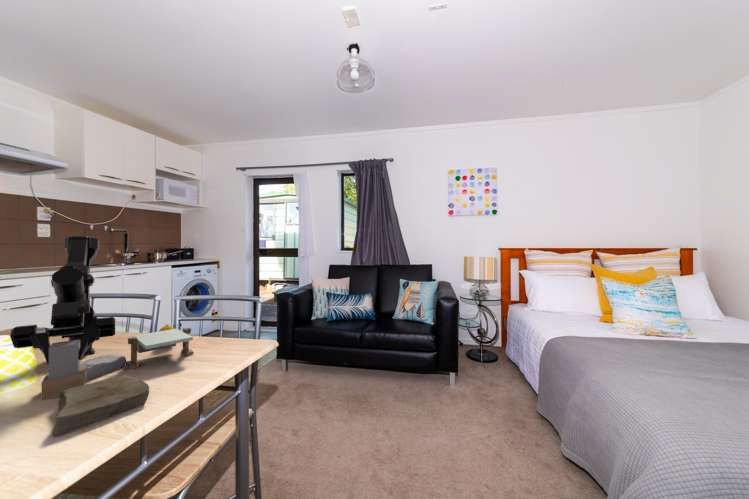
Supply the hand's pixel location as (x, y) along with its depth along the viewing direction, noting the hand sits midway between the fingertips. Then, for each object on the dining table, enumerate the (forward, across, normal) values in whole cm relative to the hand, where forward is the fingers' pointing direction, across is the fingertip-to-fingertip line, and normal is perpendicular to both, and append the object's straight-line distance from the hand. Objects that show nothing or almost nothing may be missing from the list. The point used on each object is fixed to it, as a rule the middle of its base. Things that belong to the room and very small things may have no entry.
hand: (64, 361), depth 75 cm
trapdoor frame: (-4, +20, +14) cm, 25 cm away
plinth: (+4, 0, +6) cm, 8 cm away
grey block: (+2, 0, +3) cm, 4 cm away
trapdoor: (-4, +21, +11) cm, 24 cm away
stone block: (-3, +4, +15) cm, 16 cm away
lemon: (-13, +23, +24) cm, 35 cm away
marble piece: (+16, +7, -5) cm, 18 cm away
